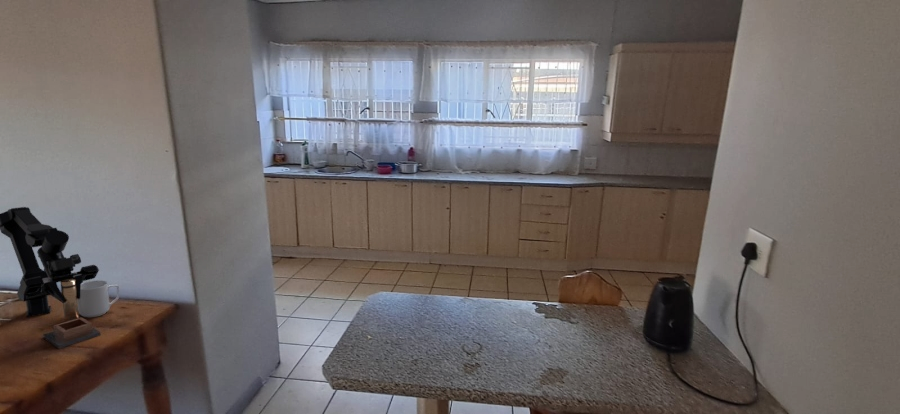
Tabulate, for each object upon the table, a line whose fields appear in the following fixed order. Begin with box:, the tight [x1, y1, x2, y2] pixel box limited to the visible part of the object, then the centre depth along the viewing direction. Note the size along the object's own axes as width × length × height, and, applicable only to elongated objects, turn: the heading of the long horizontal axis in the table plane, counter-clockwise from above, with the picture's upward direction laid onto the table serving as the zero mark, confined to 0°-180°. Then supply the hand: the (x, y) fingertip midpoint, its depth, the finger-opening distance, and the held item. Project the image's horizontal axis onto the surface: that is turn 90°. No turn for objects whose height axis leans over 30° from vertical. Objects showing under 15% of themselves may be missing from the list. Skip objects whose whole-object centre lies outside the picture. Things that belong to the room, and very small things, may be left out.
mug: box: [77, 279, 120, 318], centre depth 160 cm, size 12×9×11 cm
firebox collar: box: [42, 316, 101, 349], centre depth 143 cm, size 12×11×4 cm
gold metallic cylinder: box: [59, 279, 80, 321], centre depth 141 cm, size 4×4×13 cm
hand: (71, 300), depth 141 cm, fingers closed on gold metallic cylinder, 4 cm apart
